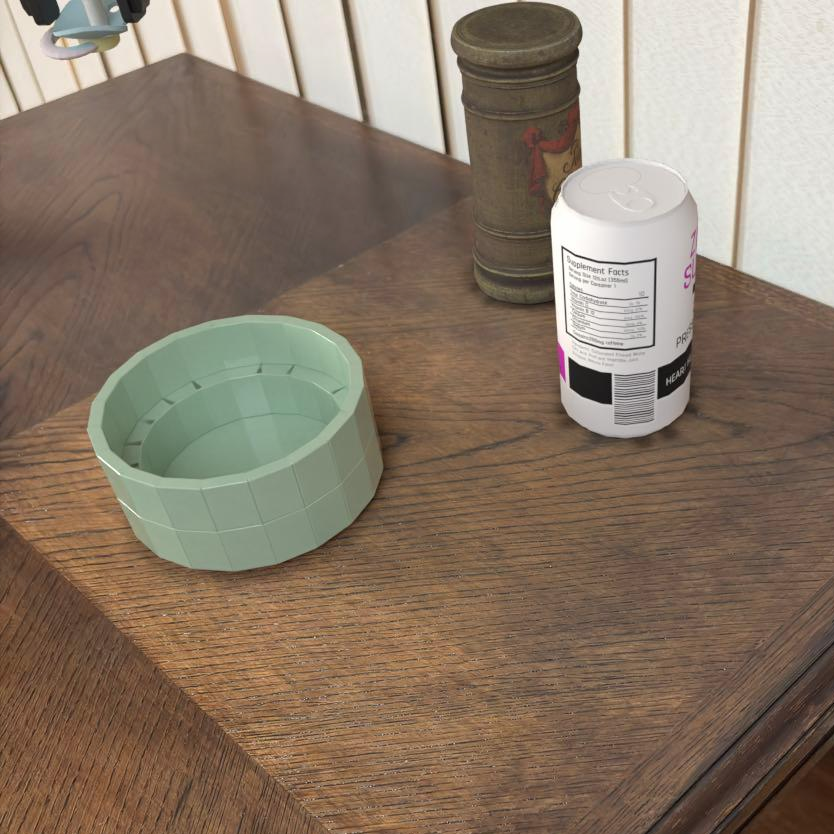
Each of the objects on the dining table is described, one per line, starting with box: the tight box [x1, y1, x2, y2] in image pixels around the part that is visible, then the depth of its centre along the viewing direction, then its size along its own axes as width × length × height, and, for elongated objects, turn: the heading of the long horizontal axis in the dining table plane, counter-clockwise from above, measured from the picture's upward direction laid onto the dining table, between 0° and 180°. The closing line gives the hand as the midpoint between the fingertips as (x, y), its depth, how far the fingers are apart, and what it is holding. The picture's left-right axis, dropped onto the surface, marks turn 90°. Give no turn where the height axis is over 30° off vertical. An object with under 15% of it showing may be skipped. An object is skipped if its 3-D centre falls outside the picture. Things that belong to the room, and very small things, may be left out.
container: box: [450, 1, 584, 305], centre depth 74 cm, size 9×9×18 cm
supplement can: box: [551, 157, 699, 439], centre depth 64 cm, size 8×8×15 cm
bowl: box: [86, 314, 384, 573], centre depth 63 cm, size 16×16×7 cm
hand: (91, 18), depth 68 cm, fingers closed on pacifier, 5 cm apart
